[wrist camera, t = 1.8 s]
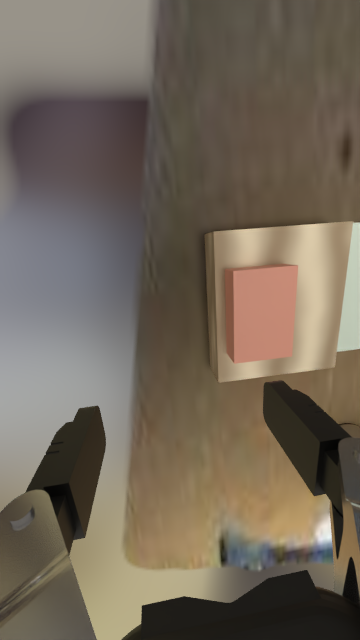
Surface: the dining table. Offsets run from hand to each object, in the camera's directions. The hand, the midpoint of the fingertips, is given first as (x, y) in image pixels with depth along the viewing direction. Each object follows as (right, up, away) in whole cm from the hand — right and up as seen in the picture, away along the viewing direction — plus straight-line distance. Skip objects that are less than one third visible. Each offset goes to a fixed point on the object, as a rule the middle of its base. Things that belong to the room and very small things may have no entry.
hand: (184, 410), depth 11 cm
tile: (+8, +5, +13) cm, 16 cm away
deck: (+10, +7, +18) cm, 22 cm away
